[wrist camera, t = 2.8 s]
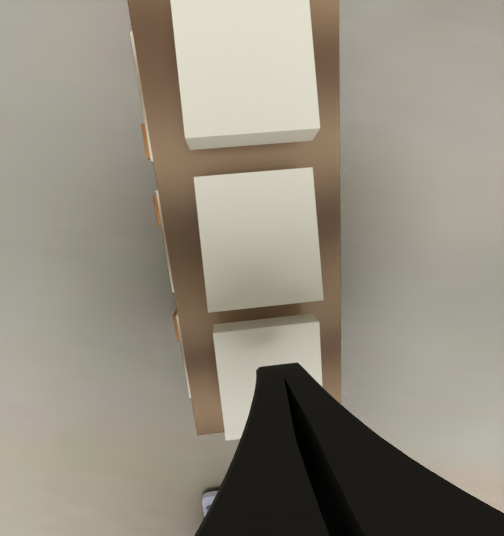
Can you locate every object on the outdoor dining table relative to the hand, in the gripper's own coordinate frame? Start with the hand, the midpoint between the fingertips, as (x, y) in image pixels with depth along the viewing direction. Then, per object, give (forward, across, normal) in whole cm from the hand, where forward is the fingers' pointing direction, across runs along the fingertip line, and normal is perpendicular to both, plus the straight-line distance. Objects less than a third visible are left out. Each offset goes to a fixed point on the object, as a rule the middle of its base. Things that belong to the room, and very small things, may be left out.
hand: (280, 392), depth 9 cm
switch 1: (+4, 0, -10) cm, 11 cm away
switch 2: (+4, 0, -4) cm, 6 cm away
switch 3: (+4, 0, +2) cm, 4 cm away
